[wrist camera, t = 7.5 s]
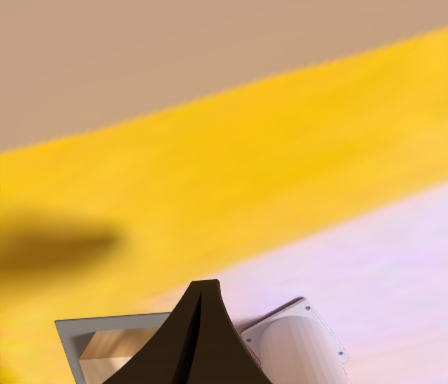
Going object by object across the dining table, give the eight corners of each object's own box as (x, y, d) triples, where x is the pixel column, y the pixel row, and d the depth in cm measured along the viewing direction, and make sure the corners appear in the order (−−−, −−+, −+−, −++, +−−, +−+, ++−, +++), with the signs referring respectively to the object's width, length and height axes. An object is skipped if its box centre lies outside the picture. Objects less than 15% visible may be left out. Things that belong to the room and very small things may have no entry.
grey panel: (179, 311, 25) (178, 313, 24) (190, 377, 27) (190, 378, 27) (55, 320, 25) (54, 322, 25) (77, 384, 27) (77, 386, 27)
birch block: (93, 406, 24) (164, 402, 23) (78, 360, 22) (153, 354, 22) (109, 374, 27) (171, 370, 26) (96, 331, 25) (162, 326, 25)
